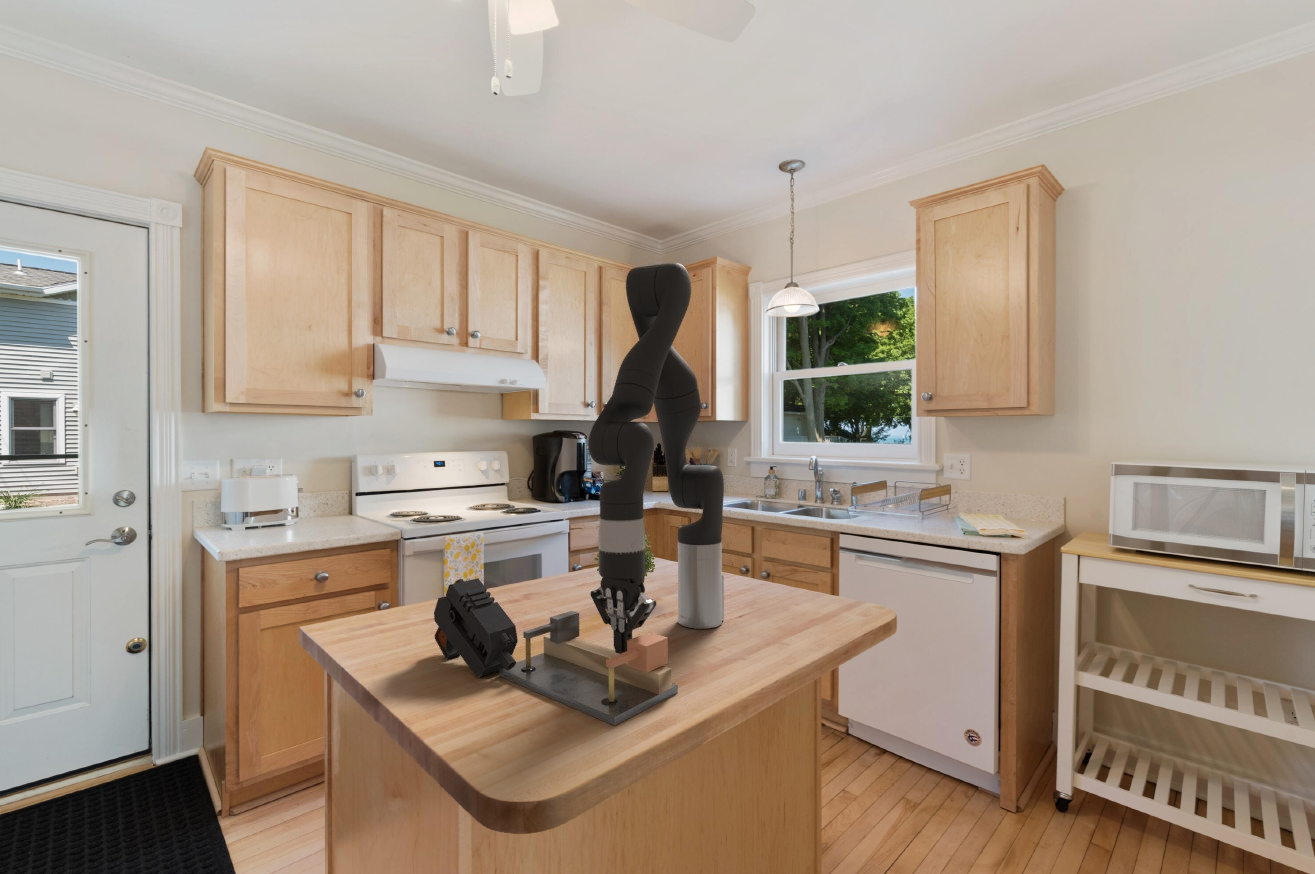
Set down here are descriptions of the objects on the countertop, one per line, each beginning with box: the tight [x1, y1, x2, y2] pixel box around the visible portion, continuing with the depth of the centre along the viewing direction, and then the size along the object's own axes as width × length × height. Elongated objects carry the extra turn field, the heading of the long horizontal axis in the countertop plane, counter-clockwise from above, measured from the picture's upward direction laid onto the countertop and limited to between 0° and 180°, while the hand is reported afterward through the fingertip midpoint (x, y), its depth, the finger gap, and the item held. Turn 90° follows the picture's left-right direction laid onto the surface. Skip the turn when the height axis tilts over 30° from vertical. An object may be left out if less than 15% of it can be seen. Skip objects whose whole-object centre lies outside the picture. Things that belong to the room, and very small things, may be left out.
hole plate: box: [498, 652, 679, 727], centre depth 100 cm, size 14×27×1 cm, turn 49°
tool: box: [433, 578, 519, 678], centre depth 108 cm, size 6×19×15 cm, turn 51°
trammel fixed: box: [522, 610, 673, 694], centre depth 101 cm, size 11×27×7 cm, turn 49°
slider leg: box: [606, 631, 669, 702], centre depth 94 cm, size 11×4×7 cm, turn 139°
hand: (622, 652), depth 100 cm, fingers closed
